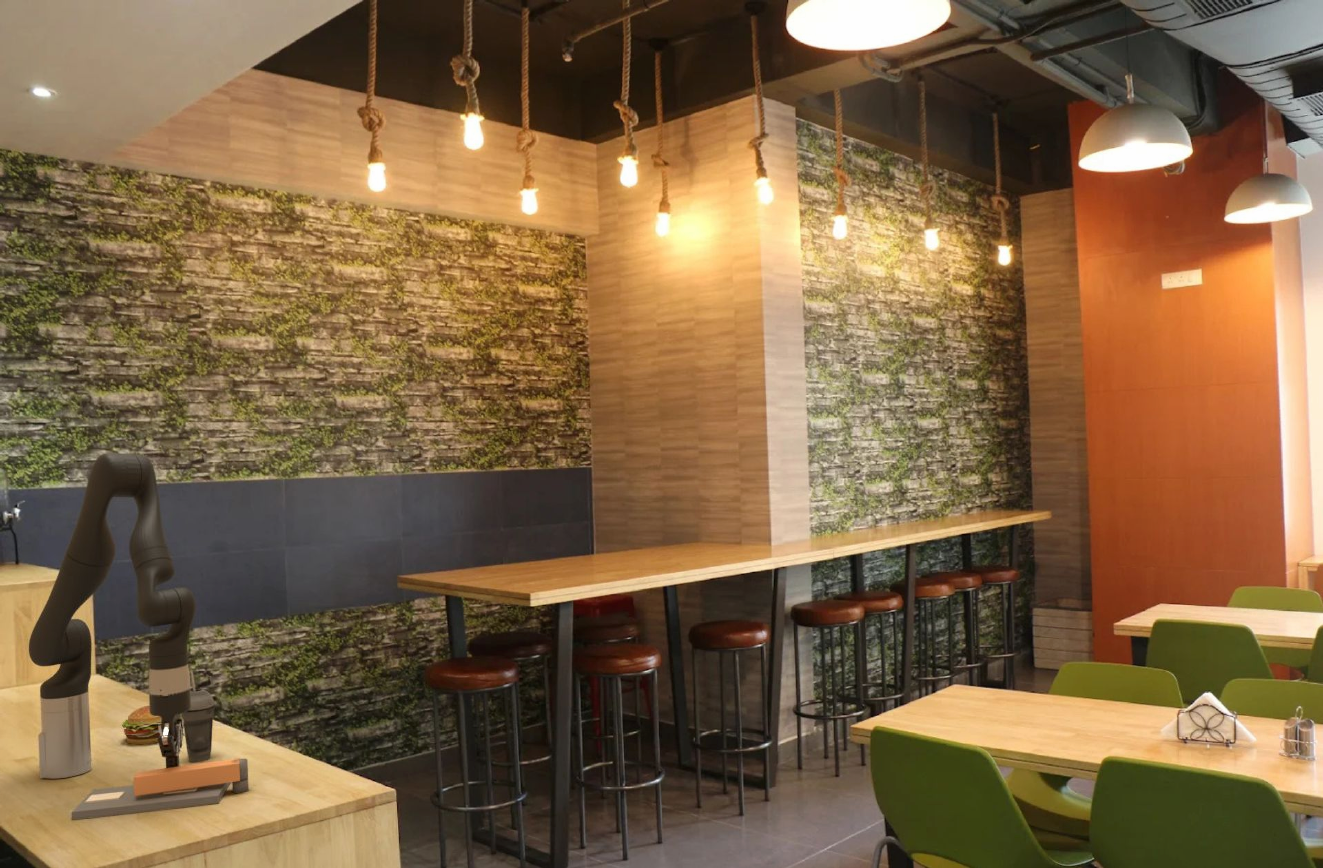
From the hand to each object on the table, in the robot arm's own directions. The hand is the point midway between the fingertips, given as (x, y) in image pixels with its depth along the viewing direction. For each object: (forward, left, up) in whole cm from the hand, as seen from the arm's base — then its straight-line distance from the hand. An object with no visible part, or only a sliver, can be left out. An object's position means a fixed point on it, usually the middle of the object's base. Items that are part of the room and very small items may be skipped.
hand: (172, 774), depth 212 cm
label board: (-1, -2, -4) cm, 5 cm away
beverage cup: (0, +26, -4) cm, 26 cm away
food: (-15, +50, -4) cm, 52 cm away
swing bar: (+4, -3, -2) cm, 6 cm away
